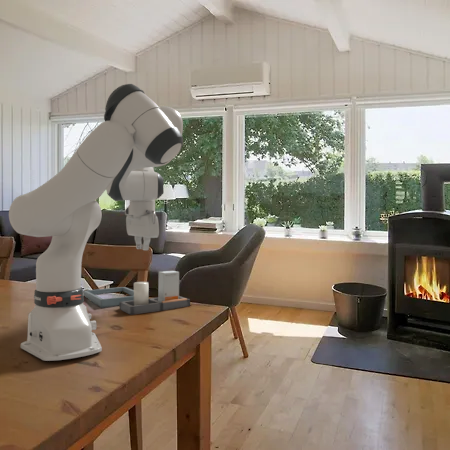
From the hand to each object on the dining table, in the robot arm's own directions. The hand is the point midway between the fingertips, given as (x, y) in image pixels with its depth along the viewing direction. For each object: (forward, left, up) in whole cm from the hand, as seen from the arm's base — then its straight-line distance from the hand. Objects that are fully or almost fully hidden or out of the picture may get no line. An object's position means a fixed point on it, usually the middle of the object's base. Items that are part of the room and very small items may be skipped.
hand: (142, 249), depth 160 cm
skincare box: (-9, -6, -19) cm, 22 cm away
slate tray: (+10, +7, -19) cm, 23 cm away
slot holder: (-9, -1, -19) cm, 21 cm away
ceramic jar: (-9, +4, -19) cm, 22 cm away
